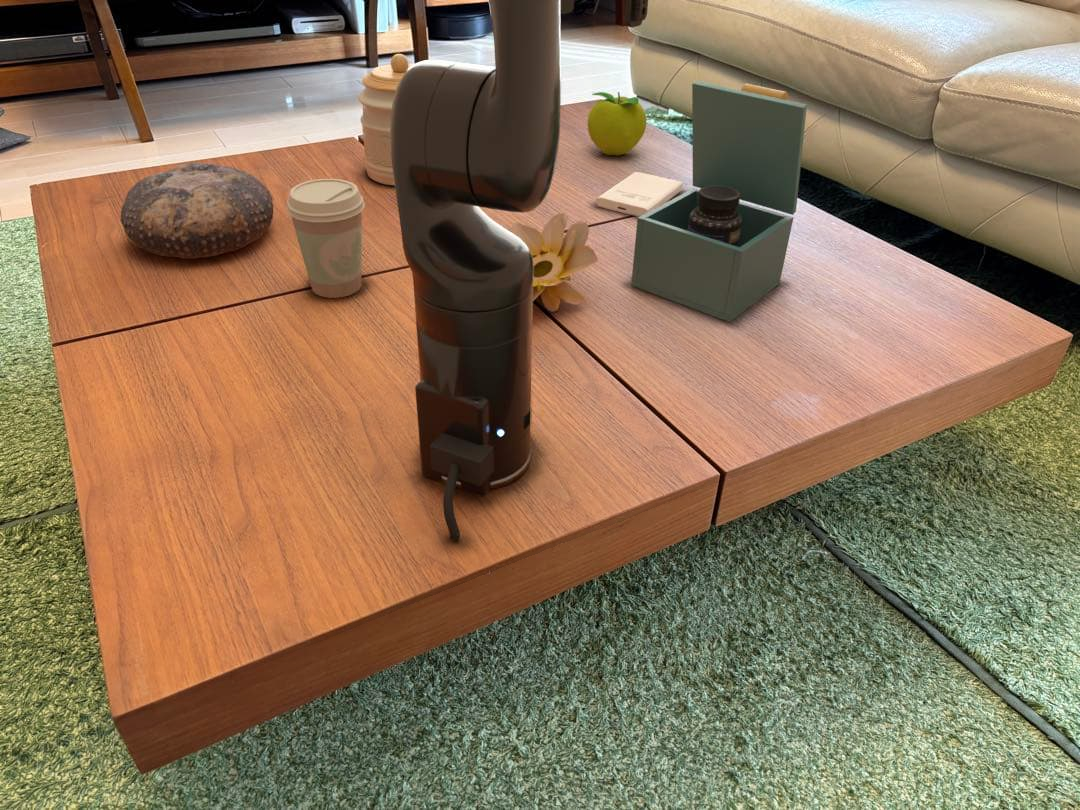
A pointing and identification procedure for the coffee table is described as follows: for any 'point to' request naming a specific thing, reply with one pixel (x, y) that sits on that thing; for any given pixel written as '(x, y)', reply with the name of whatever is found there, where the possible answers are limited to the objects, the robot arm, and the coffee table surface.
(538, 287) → the decorative flower
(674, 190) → the hard drive
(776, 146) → the lid
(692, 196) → the chest
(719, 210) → the pill bottle
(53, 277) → the coffee table surface
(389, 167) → the jar
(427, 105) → the robot arm
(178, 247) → the sea urchin shell
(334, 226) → the coffee cup
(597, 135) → the fruit
